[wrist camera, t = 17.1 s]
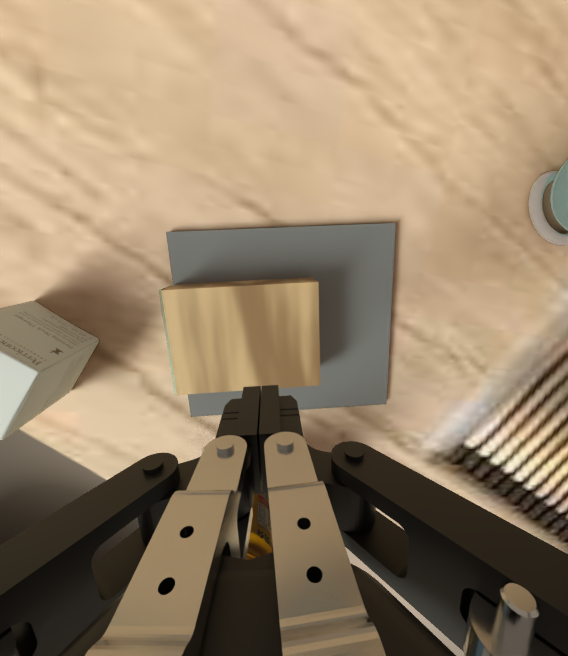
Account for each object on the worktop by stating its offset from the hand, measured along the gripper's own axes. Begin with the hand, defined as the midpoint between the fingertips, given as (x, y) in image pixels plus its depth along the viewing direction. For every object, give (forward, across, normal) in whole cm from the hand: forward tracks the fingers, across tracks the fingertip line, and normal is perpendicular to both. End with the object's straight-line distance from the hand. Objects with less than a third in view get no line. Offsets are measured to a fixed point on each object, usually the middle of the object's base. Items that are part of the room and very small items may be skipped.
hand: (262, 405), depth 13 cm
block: (+11, -4, 0) cm, 12 cm away
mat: (+14, -2, 0) cm, 14 cm away
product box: (+14, +18, +1) cm, 23 cm away
